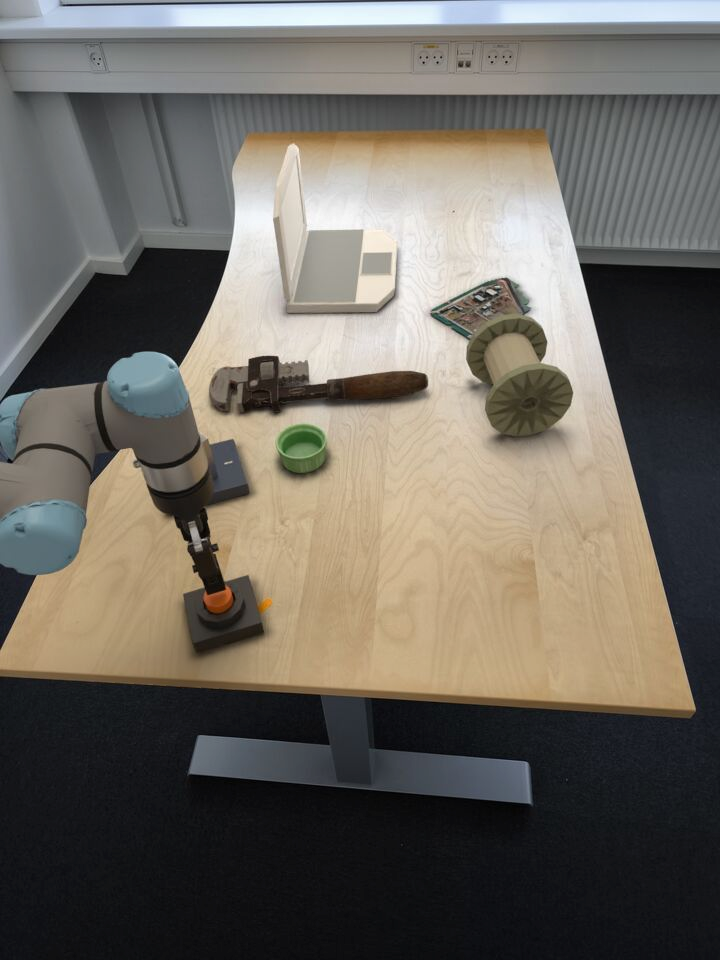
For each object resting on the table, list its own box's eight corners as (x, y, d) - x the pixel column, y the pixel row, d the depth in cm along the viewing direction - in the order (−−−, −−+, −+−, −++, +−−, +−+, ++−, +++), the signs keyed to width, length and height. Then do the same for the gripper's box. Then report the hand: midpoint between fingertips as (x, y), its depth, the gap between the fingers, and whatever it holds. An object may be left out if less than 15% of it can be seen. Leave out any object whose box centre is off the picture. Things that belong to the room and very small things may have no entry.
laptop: (394, 312, 162) (392, 196, 143) (286, 313, 164) (269, 199, 144) (398, 237, 185) (396, 129, 166) (303, 239, 187) (290, 132, 167)
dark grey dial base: (169, 515, 123) (165, 504, 122) (159, 467, 131) (156, 457, 130) (249, 493, 126) (247, 482, 124) (235, 448, 134) (233, 437, 132)
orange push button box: (196, 653, 105) (189, 636, 102) (186, 603, 111) (180, 586, 108) (264, 632, 107) (259, 615, 103) (251, 585, 113) (246, 567, 109)
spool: (565, 430, 133) (579, 364, 122) (484, 440, 132) (491, 374, 121) (539, 375, 144) (549, 309, 134) (464, 383, 144) (468, 318, 133)
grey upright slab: (218, 476, 126) (207, 436, 119) (209, 482, 125) (198, 443, 118) (192, 458, 129) (180, 419, 122) (183, 464, 128) (171, 425, 121)
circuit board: (500, 275, 170) (501, 271, 169) (548, 302, 162) (549, 298, 161) (427, 311, 161) (427, 308, 160) (474, 341, 153) (474, 338, 152)
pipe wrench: (210, 422, 141) (203, 405, 137) (213, 374, 149) (208, 356, 145) (430, 401, 141) (430, 383, 137) (422, 354, 148) (422, 336, 144)
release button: (208, 617, 104) (205, 610, 103) (203, 595, 107) (201, 588, 105) (235, 609, 105) (233, 602, 104) (230, 587, 107) (228, 580, 106)
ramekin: (276, 445, 134) (273, 427, 131) (324, 437, 135) (322, 419, 132) (281, 479, 128) (278, 462, 125) (332, 471, 129) (330, 453, 126)
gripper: (138, 444, 90) (182, 561, 107) (151, 520, 81) (197, 634, 98) (198, 429, 91) (232, 547, 108) (218, 502, 83) (251, 617, 100)
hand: (215, 588), depth 103 cm, fingers closed
